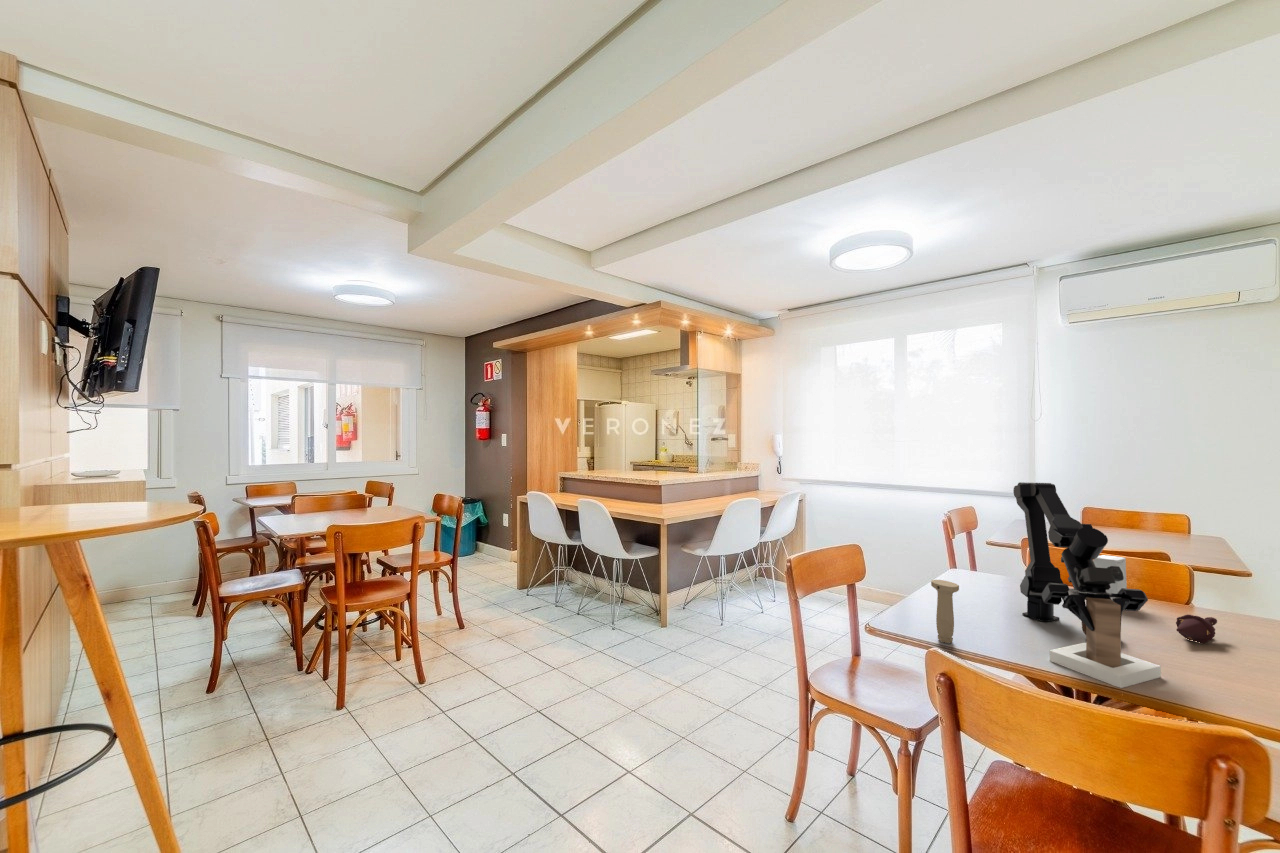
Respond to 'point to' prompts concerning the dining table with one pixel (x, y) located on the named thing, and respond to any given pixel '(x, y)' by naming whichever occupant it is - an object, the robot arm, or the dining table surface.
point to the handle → (945, 609)
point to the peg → (1104, 632)
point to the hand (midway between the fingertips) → (1106, 631)
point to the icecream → (1196, 628)
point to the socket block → (1119, 676)
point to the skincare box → (1109, 561)
